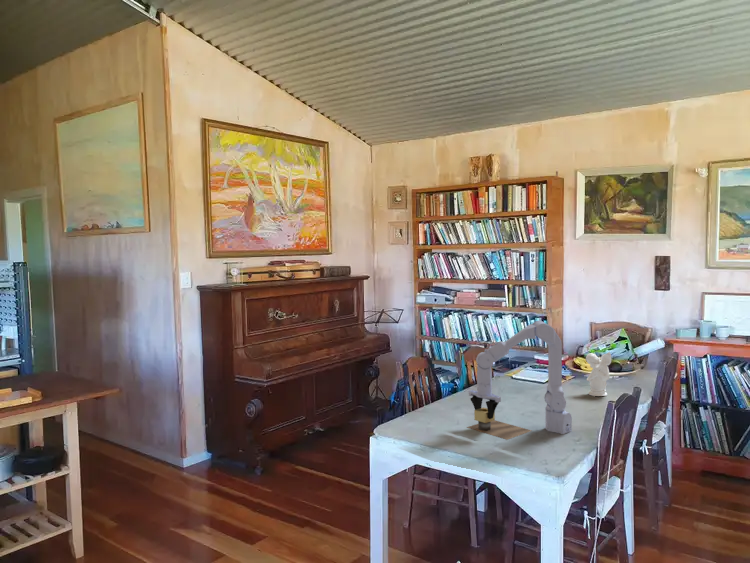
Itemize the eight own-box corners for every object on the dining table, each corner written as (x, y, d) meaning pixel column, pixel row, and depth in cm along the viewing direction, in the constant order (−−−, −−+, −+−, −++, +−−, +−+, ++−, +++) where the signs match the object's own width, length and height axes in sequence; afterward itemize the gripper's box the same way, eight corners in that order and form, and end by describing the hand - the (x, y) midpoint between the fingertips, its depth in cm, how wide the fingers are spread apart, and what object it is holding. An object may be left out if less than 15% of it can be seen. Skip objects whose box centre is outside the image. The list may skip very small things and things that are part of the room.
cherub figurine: (582, 394, 282) (583, 350, 280) (595, 389, 290) (595, 347, 289) (606, 398, 273) (607, 353, 271) (618, 394, 281) (619, 349, 280)
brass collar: (494, 420, 226) (494, 410, 226) (485, 423, 223) (485, 413, 222) (483, 417, 230) (483, 407, 230) (474, 419, 227) (474, 410, 227)
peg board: (532, 433, 224) (532, 418, 224) (507, 442, 214) (507, 426, 213) (491, 421, 239) (491, 407, 239) (466, 429, 229) (466, 415, 229)
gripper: (463, 381, 229) (463, 414, 229) (492, 387, 218) (492, 422, 218) (475, 378, 233) (475, 411, 234) (504, 384, 222) (504, 419, 223)
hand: (484, 416), depth 227 cm, fingers closed on brass collar, 5 cm apart
